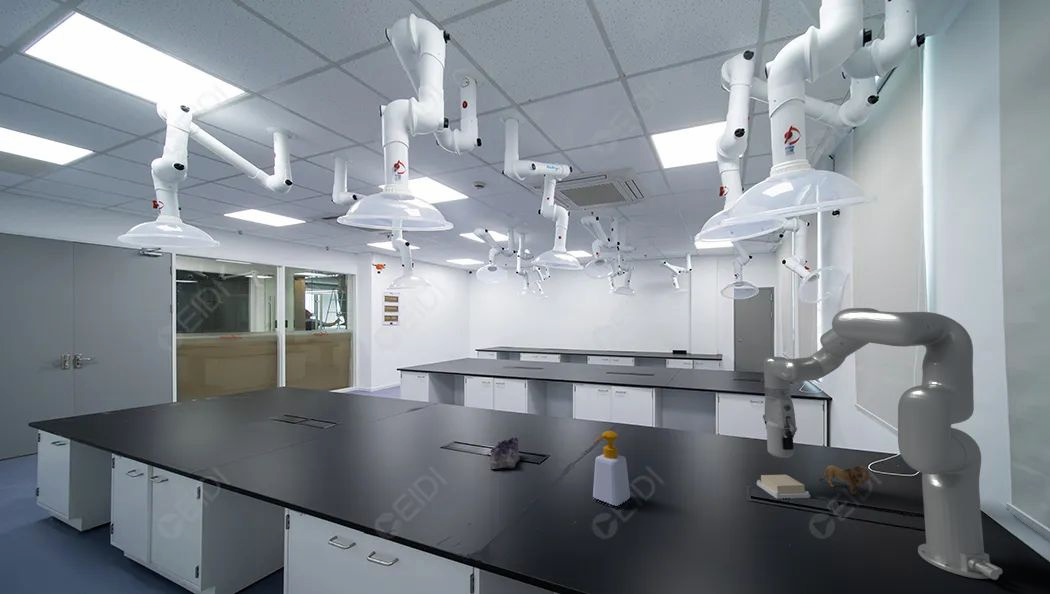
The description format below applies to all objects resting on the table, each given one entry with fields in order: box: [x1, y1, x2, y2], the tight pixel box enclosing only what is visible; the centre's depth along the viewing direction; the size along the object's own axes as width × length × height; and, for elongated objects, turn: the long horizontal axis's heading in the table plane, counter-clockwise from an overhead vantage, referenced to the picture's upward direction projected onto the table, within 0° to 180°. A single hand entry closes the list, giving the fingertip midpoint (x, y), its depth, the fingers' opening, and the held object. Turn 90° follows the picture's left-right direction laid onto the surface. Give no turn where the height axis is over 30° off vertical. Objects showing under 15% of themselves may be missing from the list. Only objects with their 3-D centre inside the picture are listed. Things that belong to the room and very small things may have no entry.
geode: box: [489, 437, 521, 470], centre depth 169 cm, size 20×12×10 cm, turn 168°
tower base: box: [756, 474, 811, 500], centre depth 137 cm, size 11×11×4 cm
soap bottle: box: [592, 430, 631, 507], centre depth 131 cm, size 10×14×22 cm
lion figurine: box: [818, 465, 871, 495], centre depth 138 cm, size 15×5×9 cm, turn 34°
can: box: [765, 419, 794, 459], centre depth 138 cm, size 8×8×12 cm
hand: (780, 445), depth 138 cm, fingers closed on can, 7 cm apart
